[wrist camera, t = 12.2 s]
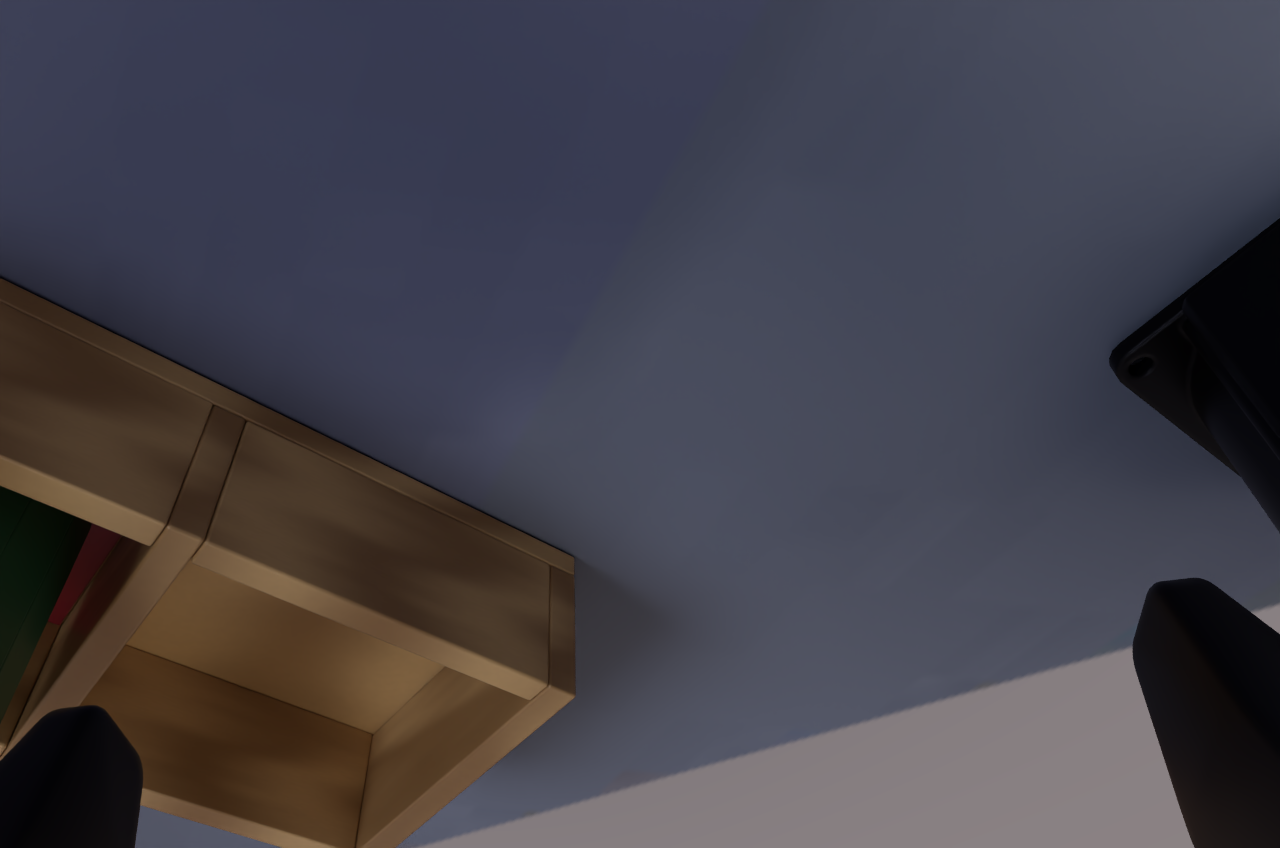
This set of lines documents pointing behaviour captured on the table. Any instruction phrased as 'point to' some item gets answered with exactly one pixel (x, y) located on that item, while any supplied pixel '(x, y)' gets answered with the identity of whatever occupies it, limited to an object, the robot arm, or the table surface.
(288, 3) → the table surface
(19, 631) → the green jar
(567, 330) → the table surface
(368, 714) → the wooden divided tray
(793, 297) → the table surface
